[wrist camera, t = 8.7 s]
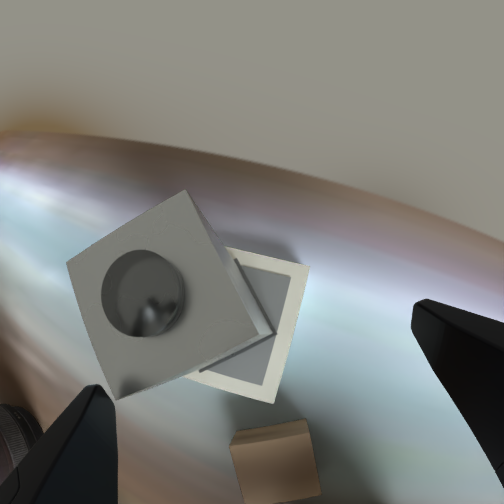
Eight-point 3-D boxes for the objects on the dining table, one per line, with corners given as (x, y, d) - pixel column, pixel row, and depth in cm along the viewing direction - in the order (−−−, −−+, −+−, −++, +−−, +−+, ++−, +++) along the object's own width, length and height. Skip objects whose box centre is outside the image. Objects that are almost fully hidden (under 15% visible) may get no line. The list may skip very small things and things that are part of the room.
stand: (274, 396, 20) (273, 404, 17) (156, 359, 21) (141, 361, 19) (307, 273, 22) (310, 265, 19) (189, 245, 23) (178, 234, 21)
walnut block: (317, 473, 18) (321, 494, 15) (251, 485, 18) (245, 506, 15) (305, 417, 19) (309, 432, 16) (237, 430, 20) (228, 446, 16)
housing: (278, 334, 18) (268, 338, 7) (203, 371, 18) (103, 411, 7) (239, 261, 20) (183, 171, 9) (169, 298, 20) (50, 255, 9)
